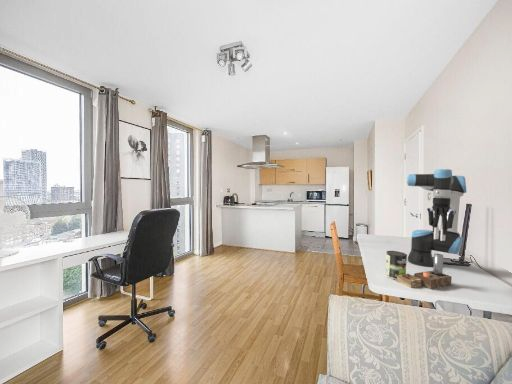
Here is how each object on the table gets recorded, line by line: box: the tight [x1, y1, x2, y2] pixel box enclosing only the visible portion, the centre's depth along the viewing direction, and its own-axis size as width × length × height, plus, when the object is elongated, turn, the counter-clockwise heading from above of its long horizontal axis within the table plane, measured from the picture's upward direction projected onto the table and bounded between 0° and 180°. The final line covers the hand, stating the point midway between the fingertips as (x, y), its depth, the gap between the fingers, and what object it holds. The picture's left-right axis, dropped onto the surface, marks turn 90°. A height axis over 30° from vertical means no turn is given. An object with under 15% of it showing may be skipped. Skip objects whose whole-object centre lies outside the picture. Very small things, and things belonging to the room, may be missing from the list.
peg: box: [432, 253, 444, 277], centre depth 126 cm, size 4×4×16 cm
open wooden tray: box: [396, 273, 422, 288], centre depth 125 cm, size 8×8×4 cm
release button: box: [422, 271, 430, 278], centre depth 123 cm, size 3×3×5 cm
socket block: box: [413, 270, 453, 290], centre depth 125 cm, size 16×9×5 cm, turn 109°
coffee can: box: [385, 250, 408, 281], centre depth 134 cm, size 10×10×14 cm
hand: (439, 239), depth 126 cm, fingers open, 3 cm apart
